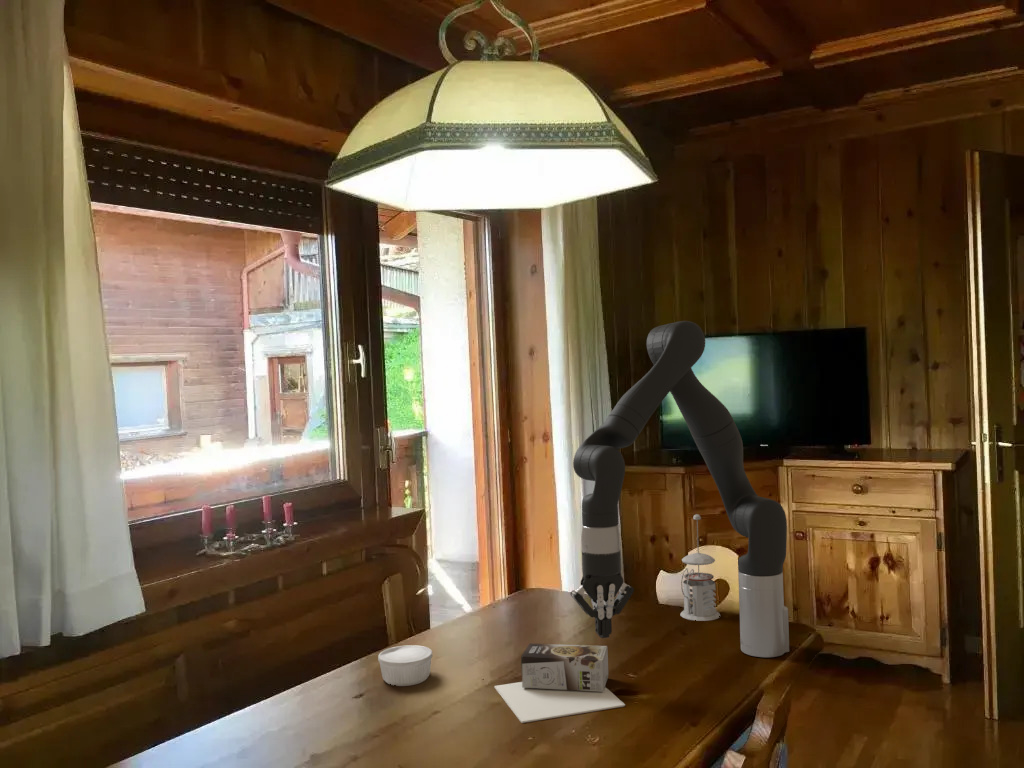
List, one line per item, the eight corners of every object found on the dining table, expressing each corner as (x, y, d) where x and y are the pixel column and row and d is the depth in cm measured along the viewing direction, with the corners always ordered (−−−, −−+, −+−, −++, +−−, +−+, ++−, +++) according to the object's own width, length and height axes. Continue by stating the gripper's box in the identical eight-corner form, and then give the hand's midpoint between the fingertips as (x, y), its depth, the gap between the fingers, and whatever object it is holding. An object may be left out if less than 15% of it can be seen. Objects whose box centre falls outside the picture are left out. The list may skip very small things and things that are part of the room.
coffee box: (603, 659, 163) (520, 656, 167) (604, 693, 163) (521, 689, 167) (607, 644, 172) (528, 641, 176) (608, 676, 172) (529, 673, 176)
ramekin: (401, 665, 184) (400, 641, 184) (444, 673, 178) (443, 648, 178) (367, 683, 174) (366, 658, 174) (412, 692, 169) (410, 665, 169)
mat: (588, 673, 175) (588, 671, 175) (625, 706, 158) (624, 704, 158) (494, 687, 169) (494, 685, 169) (521, 723, 152) (521, 721, 152)
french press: (728, 613, 212) (724, 513, 212) (703, 625, 204) (700, 520, 203) (693, 606, 219) (690, 509, 218) (668, 617, 210) (664, 516, 210)
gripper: (624, 541, 171) (626, 627, 172) (562, 547, 167) (564, 635, 168) (640, 548, 164) (643, 638, 164) (576, 555, 160) (578, 647, 161)
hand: (603, 636), depth 166 cm, fingers closed
